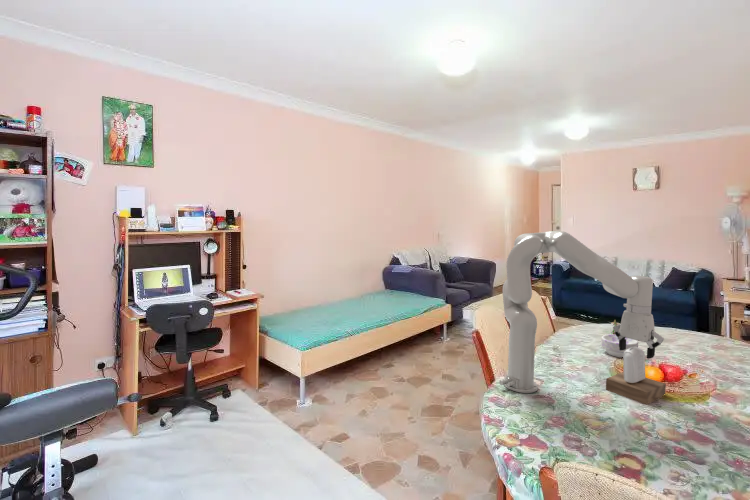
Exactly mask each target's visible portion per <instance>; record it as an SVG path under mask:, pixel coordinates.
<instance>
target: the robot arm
mask: <svg viewBox="0 0 750 500" xmlns="http://www.w3.org/2000/svg"><path fill="white" fill-rule="evenodd" d="M545 253H555V254H556V255H558V256H559V257H561V258H562V259H563V260H565V262H567V263H569V264H570V265H572V266H573V267H574V268H575V269H576V270H578V271H579V272H581V273H582V274H585V275H587V276H589V277H591V278H593V279H594V280H598V282H600V283H602V287H603V289H604V290H605V291H606V292H607V293H610V294H612V295H614V296H617V297H620V298H622V299H626V303H623V305H622V306H623V307H624V308H625V310H624V311H623V313H622V316H621V321H620V325H618V326H614V325H613V326H612V330H613V329H614V332H615V334H616V336H617V337H618V339H619V347H620V348H619V350H621V351H622V350H625V349H626V339H625V338H630V339H633V340H637V341H638V342H642V343H646V345H647V346H648V347H647V349H646V359H648V360H649V359H650V360H651V359H654V357H655V355H656V354H655V353H656V348H657V347H659V346H661V344H662V343H663V342H664V341H665V338H664V337H663V336H662V335H660V334H659V333H657V332H656V331H655V321H654V320H655V319H654V315H653V314H652V300H653V288H654V281H653V278H652V277H650V276H643V275H632V276H631V275H629V274H627V273H626V272H625V271H623V270H622V269H621V268H619V267H617V266H616V265H614V264H613V263H611V262H610V261H608V260H607V259H605V258H604V257H602V256H601V255H599V254H597V253H596V252H594V251H593V250H592V249H590V247H588V246H586V245H585V244H583V243H582V242H581V241H580V240H578V239H577V238H576V237H574V236H573V235H572V234H570V233H569V232H566V231H561V230H554V231H542V232H528V233H522V234H519V235H518V236H517V237H516V238H515V240H514V243H513V247H512V248H511V250H510V251H509V254H508V255H507V259H506V264H505V265H506V279H505V280H504V283H503V285H502V291H501V292H502V299H503V301H502V302H503V311H504V317H505V319H506V320H507V322H508V323H509V335H508V359H507V361H508V364H507V374H506V377H505V378H504V379H500V380H499V382H498V383H499V385H501V386H504V387H505V388H507V389H508V390H511V391H513V392H517V393H522V394H532V393H535V392H536V391H538V389H539V385H538V383H537V382H535V380H534V379H535V348H536V347H535V346H536V335H537V334H536V333H537V329H538V328H537V327H538V321H537V317H536V315H535V313H534V312H533V311H532V310H531V309H530V308H529V304H528V303H529V302H530V301H531V299H532V296H533V289H532V281H531V263H532V261H533V260H534V258H535V257H536V256H538V255H540V254H545ZM619 328H620V332H619ZM615 334H614V335H615ZM655 339H657V340H656V341H654V340H655Z"/></svg>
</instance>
